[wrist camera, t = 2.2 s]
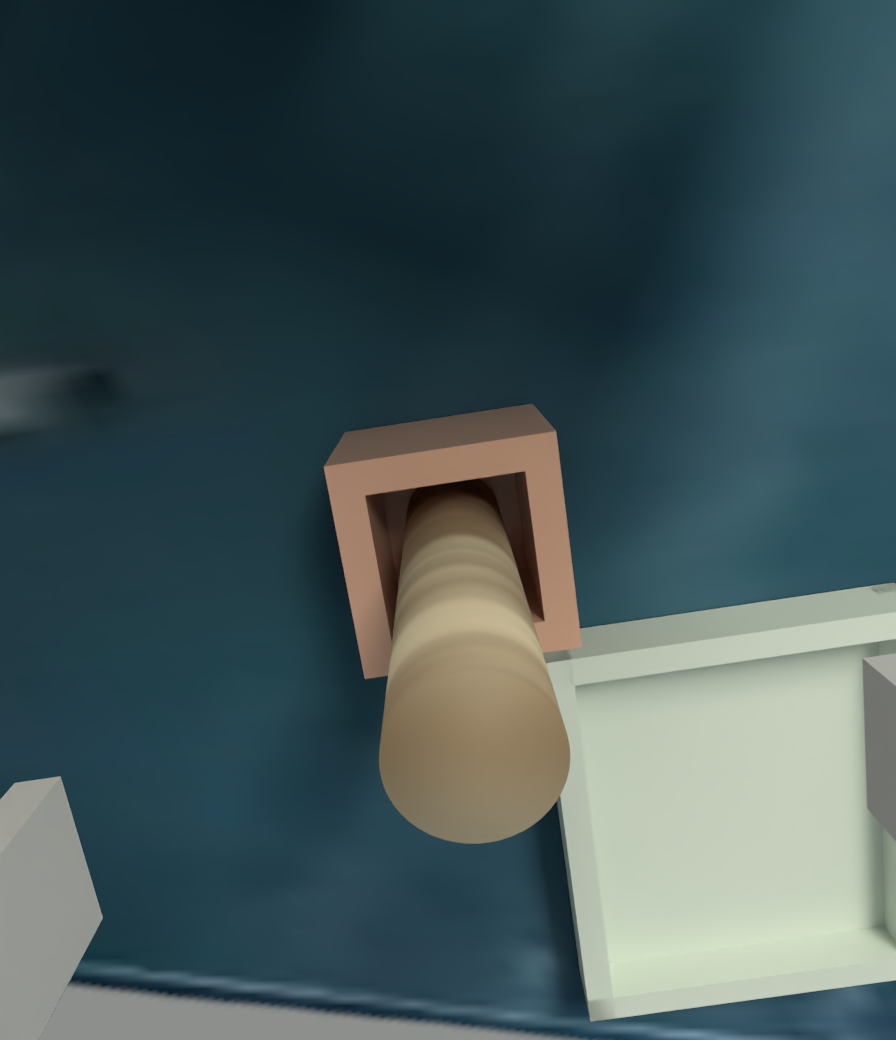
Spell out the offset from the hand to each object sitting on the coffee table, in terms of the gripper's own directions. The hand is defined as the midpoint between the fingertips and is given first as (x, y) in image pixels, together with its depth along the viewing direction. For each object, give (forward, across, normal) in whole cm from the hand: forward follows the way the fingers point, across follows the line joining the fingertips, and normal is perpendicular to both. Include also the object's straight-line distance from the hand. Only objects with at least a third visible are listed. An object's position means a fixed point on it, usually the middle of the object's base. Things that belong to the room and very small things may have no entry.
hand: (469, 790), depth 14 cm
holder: (+17, 0, 0) cm, 17 cm away
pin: (+16, 0, 0) cm, 16 cm away
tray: (+18, +9, -13) cm, 23 cm away
